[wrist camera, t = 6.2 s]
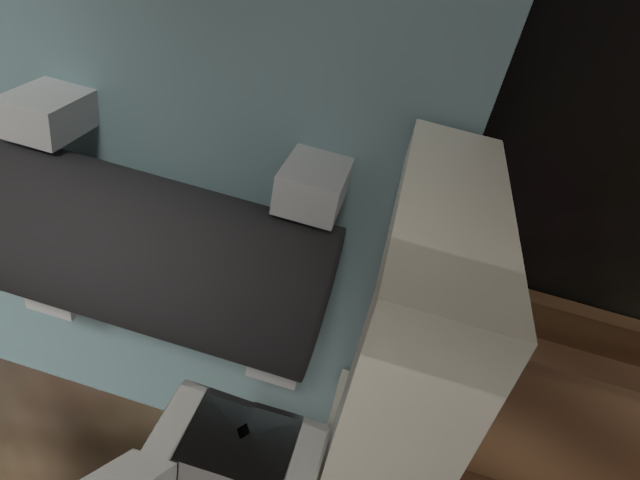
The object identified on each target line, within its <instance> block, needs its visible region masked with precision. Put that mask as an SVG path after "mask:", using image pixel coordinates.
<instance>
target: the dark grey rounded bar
mask: <svg viewBox="0 0 640 480" xmlns="http://www.w3.org/2000/svg"><path fill="white" fill-rule="evenodd" d="M269 211H270V207H269V206H265V205H262V204H258V203H255V202H251V201H247V200H244V199H240V198H237V197H233V196H229V195H226V194H222V193H219V192H215V191H211V190H208V189H204V188H201V187H197V186H194V185H190V184H186V183H183V182H179V181H176V180H172V179H168V178H165V177H161V176H158V175H154V174H150V173H147V172H143V171H140V170H136V169H133V168H129V167H125V166H122V165H118V164H115V163H111V162H107V161H104V160H100V159H97V158H93V157H90V156H86V155H82V154H79V153H75V152H72V151H68V150H64V149H59V150H57V151H56V152H54V153H49V152H45V151H42V150H38V149H35V148H31V147H28V146H24V145H20V144H17V143H13V142H10V141H6V140H3V139H0V291H4V292H7V293H10V294H13V295H17V296H20V297H23V298H26V299H30V300H33V301H36V302H39V303H43V304H46V305H49V306H52V307H56V308H59V309H62V310H65V311H69V312H72V313H75V314H78V315H82V316H85V317H88V318H91V319H95V320H98V321H101V322H104V323H108V324H111V325H114V326H117V327H121V328H124V329H127V330H130V331H134V332H137V333H140V334H143V335H147V336H150V337H153V338H156V339H160V340H163V341H166V342H169V343H173V344H176V345H179V346H182V347H186V348H189V349H192V350H195V351H199V352H202V353H205V354H208V355H212V356H215V357H218V358H221V359H225V360H228V361H231V362H234V363H238V364H241V365H244V366H247V367H251V368H254V369H257V370H260V371H264V372H267V373H270V374H273V375H277V376H280V377H283V378H286V379H290V380H293V381H296V382H299V383H302V381H303V379H304V377H305V374H306V372H307V369H308V366H309V363H310V360H311V357H312V354H313V351H314V348H315V345H316V342H317V339H318V335H319V332H320V329H321V325H322V322H323V319H324V315H325V312H326V309H327V305H328V302H329V298H330V294H331V291H332V287H333V284H334V280H335V276H336V272H337V269H338V265H339V261H340V257H341V253H342V248H343V244H344V239H345V234H346V228H344V227H341V226H337V225H334V226H333V228H332V231H328V230H324V229H321V228H317V227H313V226H310V225H306V224H303V223H299V222H296V221H292V220H288V219H285V218H281V217H278V216H274V215H271V214H269Z"/></svg>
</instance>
